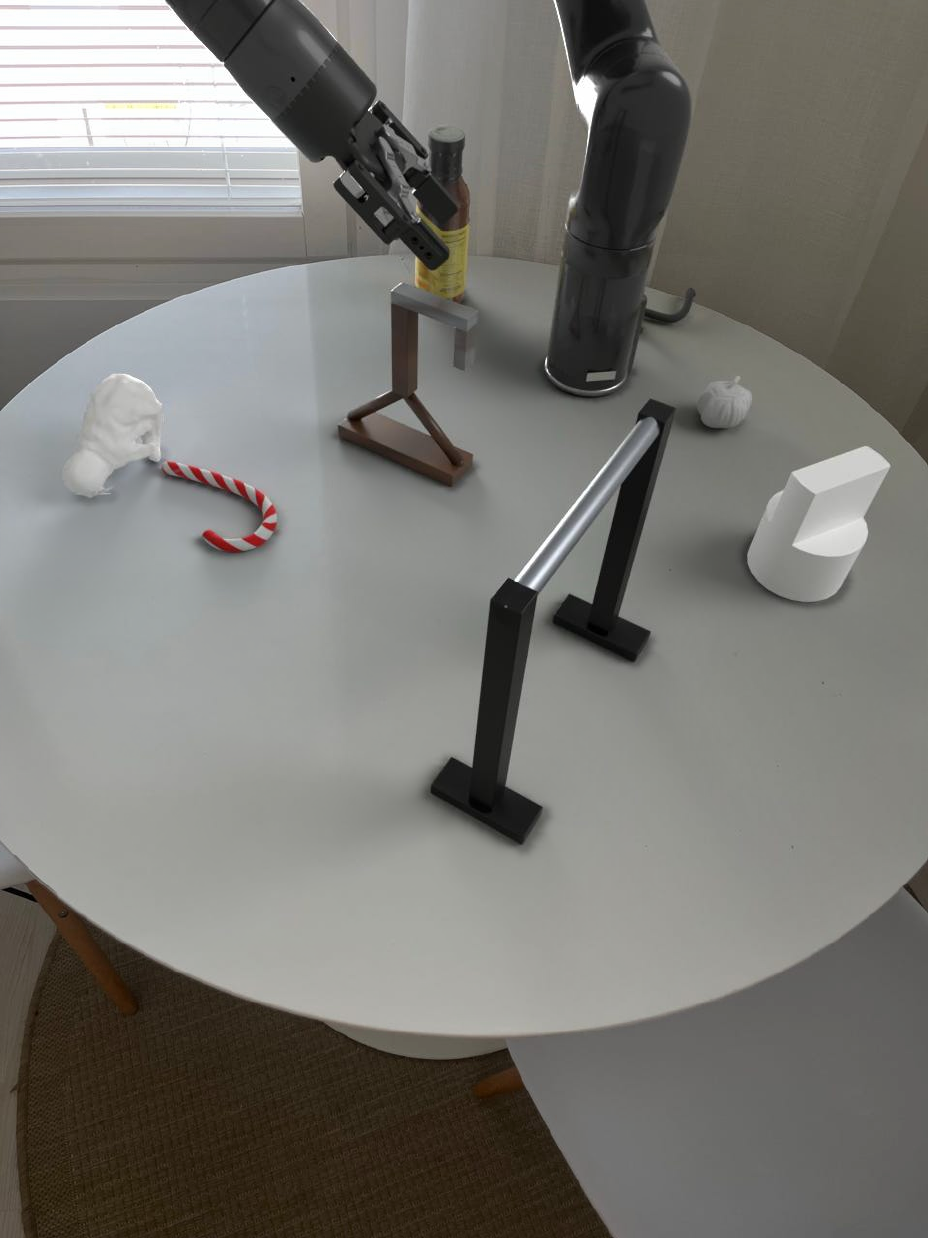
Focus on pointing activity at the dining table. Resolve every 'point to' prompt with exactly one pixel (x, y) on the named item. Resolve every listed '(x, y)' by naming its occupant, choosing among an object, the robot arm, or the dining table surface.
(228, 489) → the candy cane
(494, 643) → the rail
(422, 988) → the dining table surface
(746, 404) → the garlic
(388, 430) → the hanger
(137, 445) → the white lumpy figurine
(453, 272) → the sauce bottle
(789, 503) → the cylinder with rectangular tab
